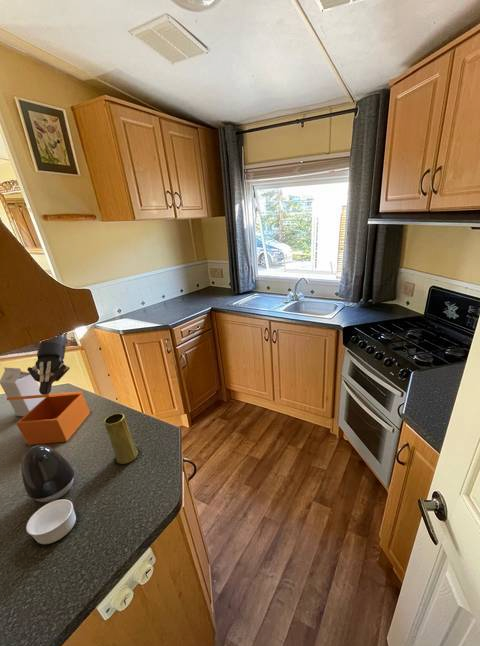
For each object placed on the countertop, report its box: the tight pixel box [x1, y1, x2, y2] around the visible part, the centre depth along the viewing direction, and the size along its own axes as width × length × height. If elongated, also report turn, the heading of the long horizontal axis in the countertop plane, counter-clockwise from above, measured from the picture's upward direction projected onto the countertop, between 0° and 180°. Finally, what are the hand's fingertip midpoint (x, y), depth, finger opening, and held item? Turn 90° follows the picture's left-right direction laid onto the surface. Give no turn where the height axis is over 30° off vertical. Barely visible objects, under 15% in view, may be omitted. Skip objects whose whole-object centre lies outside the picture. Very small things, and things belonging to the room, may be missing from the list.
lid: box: [6, 390, 83, 401], centre depth 97 cm, size 16×13×1 cm
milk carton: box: [0, 366, 45, 417], centre depth 108 cm, size 7×7×19 cm
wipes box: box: [15, 393, 91, 446], centre depth 100 cm, size 16×13×9 cm
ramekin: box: [25, 498, 77, 545], centre depth 67 cm, size 9×9×4 cm
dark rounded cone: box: [21, 444, 75, 503], centre depth 74 cm, size 10×10×15 cm
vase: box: [103, 412, 139, 465], centre depth 84 cm, size 6×6×14 cm
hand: (44, 393), depth 95 cm, fingers closed
